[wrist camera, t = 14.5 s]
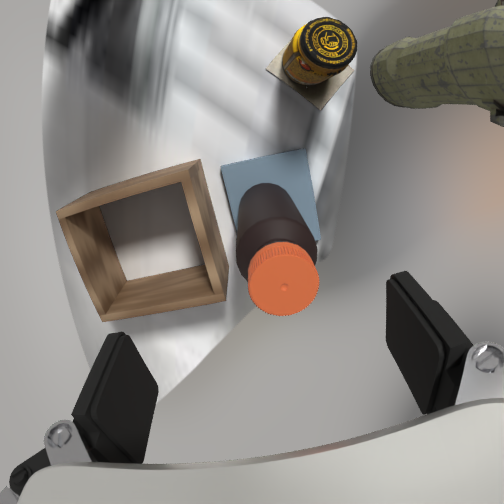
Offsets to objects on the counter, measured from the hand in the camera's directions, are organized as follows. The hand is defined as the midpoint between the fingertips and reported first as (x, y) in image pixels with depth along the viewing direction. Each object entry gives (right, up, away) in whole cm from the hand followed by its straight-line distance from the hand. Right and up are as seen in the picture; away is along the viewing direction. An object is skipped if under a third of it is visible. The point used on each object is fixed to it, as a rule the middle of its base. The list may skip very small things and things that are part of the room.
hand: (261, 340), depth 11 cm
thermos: (+19, +26, +24) cm, 40 cm away
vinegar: (+1, +8, +30) cm, 31 cm away
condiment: (+7, +25, +24) cm, 36 cm away
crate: (-13, +6, +31) cm, 34 cm away
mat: (+2, +9, +30) cm, 32 cm away
